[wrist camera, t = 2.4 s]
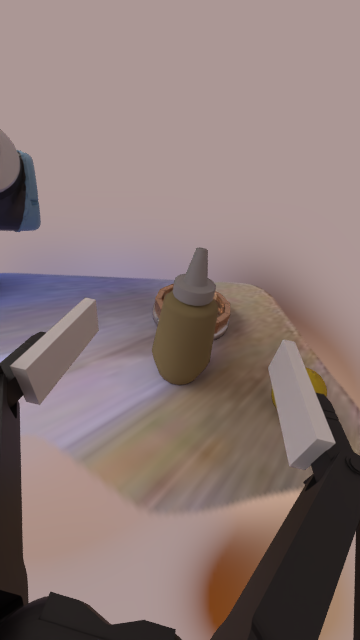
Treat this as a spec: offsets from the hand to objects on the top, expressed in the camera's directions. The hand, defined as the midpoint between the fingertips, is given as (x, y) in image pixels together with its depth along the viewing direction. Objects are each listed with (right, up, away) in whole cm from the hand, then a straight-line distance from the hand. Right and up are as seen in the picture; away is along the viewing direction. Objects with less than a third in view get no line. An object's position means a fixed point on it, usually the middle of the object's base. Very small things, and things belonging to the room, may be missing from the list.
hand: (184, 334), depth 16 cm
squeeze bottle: (-1, -6, +17) cm, 18 cm away
